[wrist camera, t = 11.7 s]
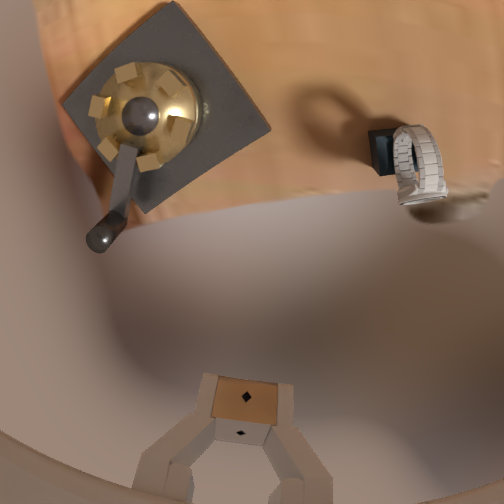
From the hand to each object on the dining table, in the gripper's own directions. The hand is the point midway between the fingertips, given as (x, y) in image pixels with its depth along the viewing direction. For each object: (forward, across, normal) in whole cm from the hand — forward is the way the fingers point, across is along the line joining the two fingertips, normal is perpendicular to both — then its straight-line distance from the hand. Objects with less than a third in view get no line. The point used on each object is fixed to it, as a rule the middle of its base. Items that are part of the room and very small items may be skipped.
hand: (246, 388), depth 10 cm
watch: (+29, -13, -4) cm, 32 cm away
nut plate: (+29, +13, -4) cm, 32 cm away
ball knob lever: (+26, +14, 0) cm, 30 cm away
